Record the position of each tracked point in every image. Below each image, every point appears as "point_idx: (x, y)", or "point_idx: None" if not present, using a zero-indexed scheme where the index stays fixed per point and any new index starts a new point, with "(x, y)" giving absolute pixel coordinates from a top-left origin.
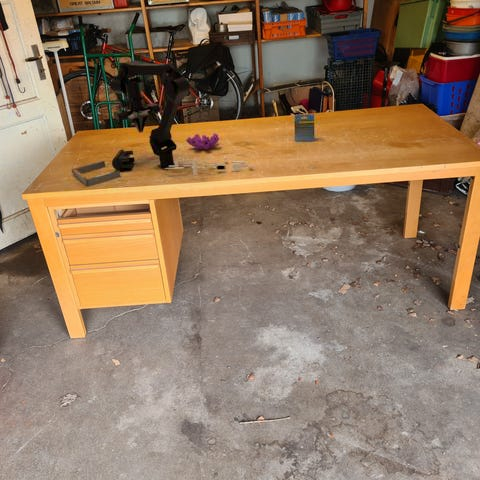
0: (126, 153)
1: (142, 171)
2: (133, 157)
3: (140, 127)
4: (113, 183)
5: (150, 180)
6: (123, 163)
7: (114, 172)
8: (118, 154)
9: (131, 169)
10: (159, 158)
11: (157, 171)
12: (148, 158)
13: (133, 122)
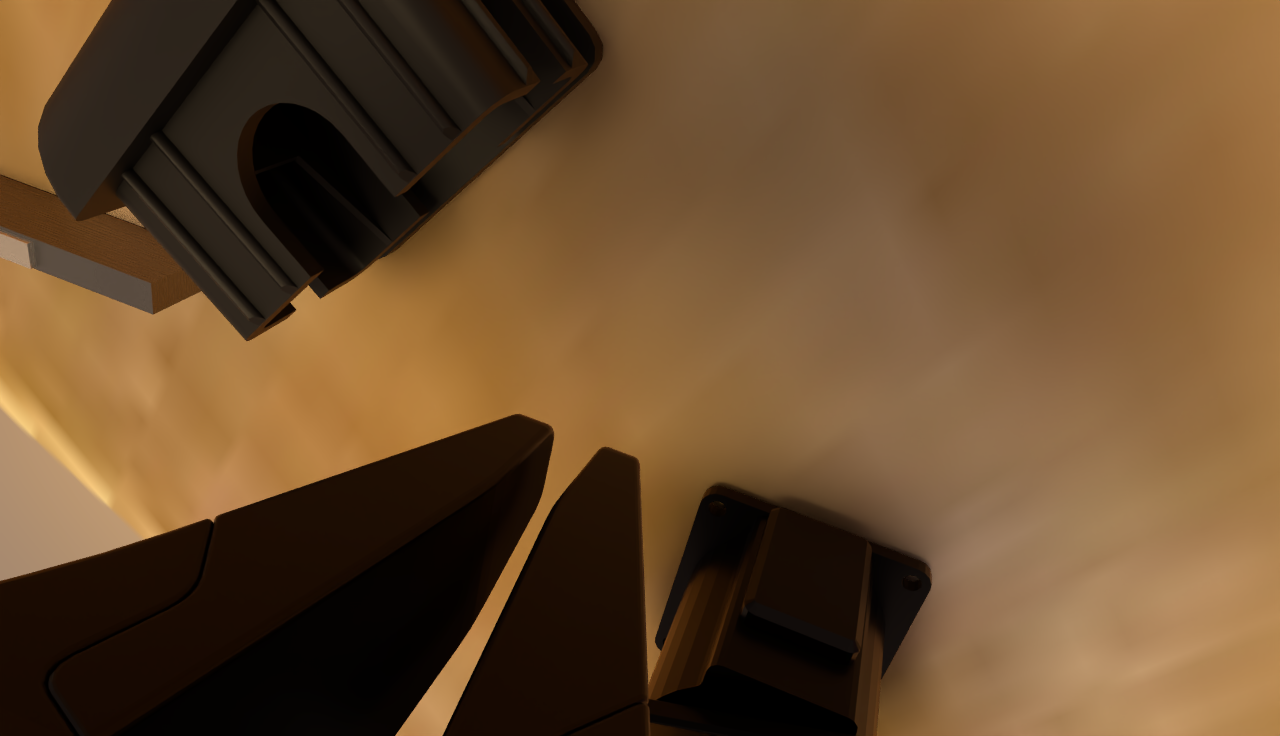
0: (324, 113)
1: (479, 412)
2: (547, 76)
3: (402, 724)
4: (94, 356)
5: None
6: (280, 162)
7: (91, 288)
8: (122, 113)
9: (414, 232)
10: (663, 650)
11: None
12: (956, 56)
13: (4, 598)
